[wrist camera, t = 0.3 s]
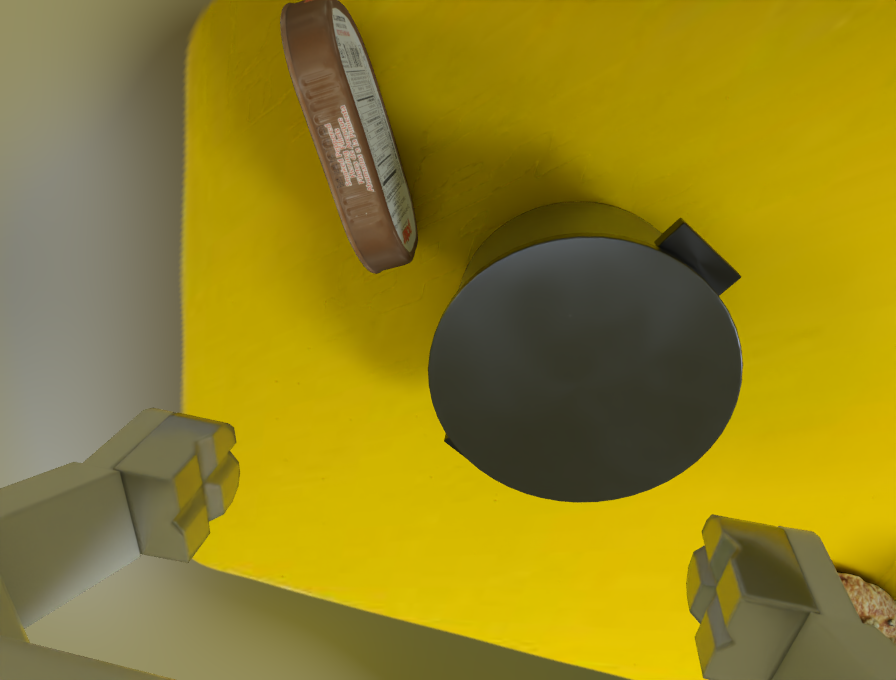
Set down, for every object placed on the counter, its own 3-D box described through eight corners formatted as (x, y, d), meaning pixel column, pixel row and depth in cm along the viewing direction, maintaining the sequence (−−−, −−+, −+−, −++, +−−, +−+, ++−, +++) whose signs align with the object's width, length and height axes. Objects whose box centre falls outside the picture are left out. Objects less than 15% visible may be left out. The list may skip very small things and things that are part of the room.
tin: (312, 10, 34) (249, 0, 27) (361, -8, 34) (310, -23, 26) (390, 249, 40) (357, 296, 33) (433, 239, 40) (409, 285, 32)
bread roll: (738, 647, 53) (761, 697, 48) (769, 546, 49) (798, 589, 44) (866, 663, 52) (902, 715, 47) (907, 561, 48) (951, 607, 44)
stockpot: (584, 119, 35) (599, 142, 27) (770, 298, 38) (835, 368, 30) (393, 330, 43) (358, 399, 35) (559, 463, 47) (564, 554, 38)
